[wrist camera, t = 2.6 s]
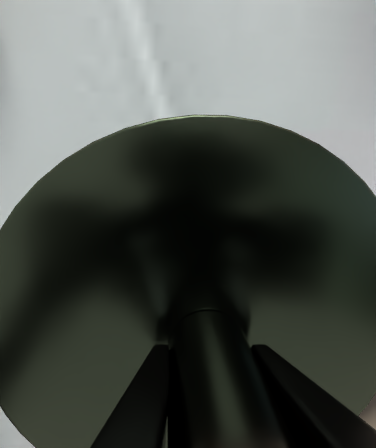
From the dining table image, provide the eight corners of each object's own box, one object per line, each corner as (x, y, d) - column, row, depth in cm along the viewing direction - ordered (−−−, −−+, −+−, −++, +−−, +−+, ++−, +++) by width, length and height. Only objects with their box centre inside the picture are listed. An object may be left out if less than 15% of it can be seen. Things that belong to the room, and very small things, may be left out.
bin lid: (19, 470, 9) (-144, 806, 4) (-24, 101, 6) (-648, -112, 2) (337, 455, 11) (484, 703, 6) (422, 140, 8) (874, 95, 3)
